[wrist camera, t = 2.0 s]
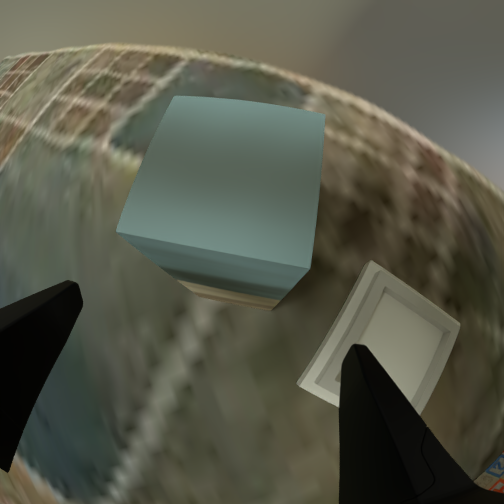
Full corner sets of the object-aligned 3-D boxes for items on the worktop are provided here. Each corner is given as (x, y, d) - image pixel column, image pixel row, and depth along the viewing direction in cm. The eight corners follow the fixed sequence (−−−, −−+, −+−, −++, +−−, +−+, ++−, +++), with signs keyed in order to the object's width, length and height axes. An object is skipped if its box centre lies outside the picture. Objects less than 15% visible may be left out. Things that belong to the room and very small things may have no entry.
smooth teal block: (270, 311, 19) (310, 268, 6) (199, 296, 19) (115, 231, 7) (282, 242, 20) (325, 114, 8) (215, 230, 21) (174, 95, 8)
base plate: (397, 433, 16) (411, 441, 14) (296, 383, 18) (301, 389, 15) (452, 324, 18) (468, 322, 16) (364, 263, 20) (376, 255, 18)
